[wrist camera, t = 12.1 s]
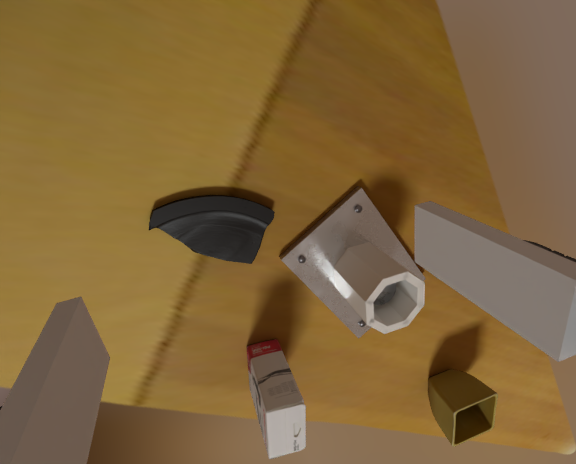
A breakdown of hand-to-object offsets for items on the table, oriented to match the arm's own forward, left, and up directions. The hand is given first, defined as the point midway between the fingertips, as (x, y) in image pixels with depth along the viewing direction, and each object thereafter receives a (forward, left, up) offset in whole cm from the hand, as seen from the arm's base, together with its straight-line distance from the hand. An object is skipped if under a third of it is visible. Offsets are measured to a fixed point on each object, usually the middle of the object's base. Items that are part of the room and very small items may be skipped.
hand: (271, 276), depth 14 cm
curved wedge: (+7, -4, -29) cm, 30 cm away
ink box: (+28, -15, -29) cm, 43 cm away
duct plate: (+26, +5, -29) cm, 39 cm away
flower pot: (+60, +3, -29) cm, 67 cm away
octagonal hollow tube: (+26, +5, -28) cm, 38 cm away
